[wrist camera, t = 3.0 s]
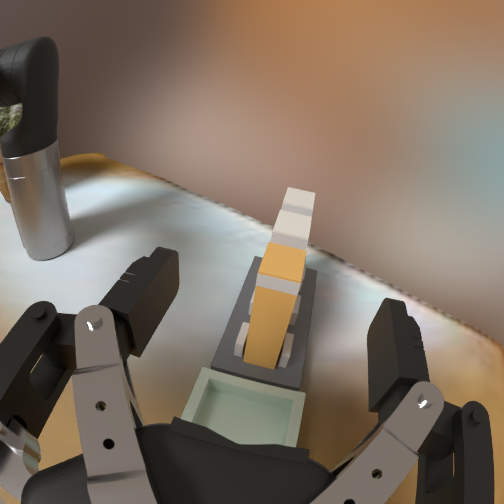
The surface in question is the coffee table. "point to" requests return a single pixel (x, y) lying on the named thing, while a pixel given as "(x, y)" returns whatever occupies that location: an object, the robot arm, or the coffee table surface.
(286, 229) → the block
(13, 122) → the potted plant
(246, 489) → the robot arm
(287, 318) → the block
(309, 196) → the end white fuse
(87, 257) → the coffee table surface
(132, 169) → the coffee table surface
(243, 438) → the tray
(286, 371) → the fuse block
